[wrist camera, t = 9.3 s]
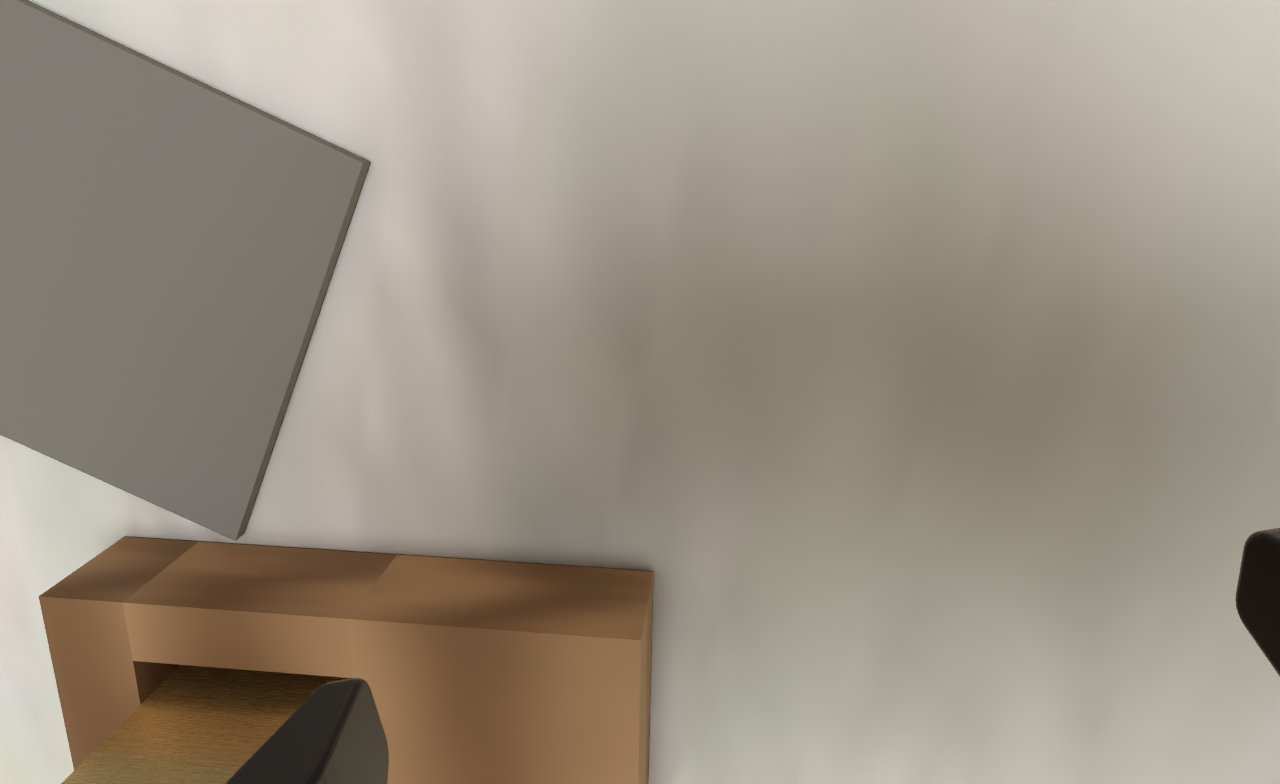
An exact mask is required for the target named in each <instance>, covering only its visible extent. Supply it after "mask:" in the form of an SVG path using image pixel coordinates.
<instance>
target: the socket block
mask: <svg viewBox="0 0 1280 784" xmlns="http://www.w3.org/2000/svg"><path fill="white" fill-rule="evenodd" d="M653 574H654V571H640V570H625V569H610V568H595V567H579V566H564V565H549V564H534V563H518V562H503V561H488V560H473V559H457V558H442V557H427V556H412V555H396V554H381V553H366V552H351V551H335V550H320V549H305V548H290V547H275V546H259V545H244V544H229V543H214V542H198V541H183V540H168V539H153V538H137V537H123V538H122V539H120V540H119V541H117V542H116V543H115V544H113V545H112V546H110V547H109V548H107V549H106V550H105V551H103V552H102V553H100V554H99V555H97V556H96V557H95V558H93V559H92V560H90V561H89V562H87V563H86V564H85V565H83V566H82V567H80V568H79V569H77V570H76V571H75V572H73V573H72V574H70V575H69V576H67V577H66V578H65V579H63V580H62V581H60V582H59V583H57V584H56V585H55V586H53V587H52V588H50V589H49V590H47V591H46V592H45V593H43V594H42V595H40V596H39V600H40V605H41V610H42V615H43V619H44V624H45V629H46V634H47V639H48V644H49V649H50V654H51V659H52V663H53V668H54V673H55V678H56V683H57V688H58V693H59V698H60V703H61V707H62V712H63V717H64V722H65V727H66V732H67V737H68V742H69V747H70V752H71V756H72V761H73V766H74V771H75V770H76V769H77V768H78V767H79V766H80V765H81V764H82V763H83V762H84V761H85V760H86V759H87V758H88V757H89V756H90V755H91V754H92V753H93V752H94V751H95V750H96V749H97V748H98V747H99V746H100V745H101V744H102V743H103V742H104V741H105V740H106V739H107V738H108V737H109V736H110V735H111V734H112V733H113V732H114V731H115V730H116V729H117V728H118V727H119V726H120V725H121V724H122V723H123V722H124V721H125V720H126V719H127V718H128V717H129V716H130V715H131V714H132V713H133V712H134V711H135V710H136V709H137V708H138V707H139V706H140V705H141V704H142V703H143V702H144V701H145V700H146V699H147V698H148V697H149V696H150V695H151V694H152V693H153V692H154V691H155V690H156V689H157V688H158V687H159V686H160V685H161V684H162V683H163V682H164V681H165V680H166V679H167V678H168V677H169V676H170V675H171V674H172V673H173V672H174V671H175V670H176V669H177V668H178V667H179V666H180V665H191V666H204V667H217V668H229V669H242V670H255V671H267V672H280V673H293V674H305V675H318V676H331V677H343V678H361V679H363V680H365V681H366V682H367V684H368V685H369V687H370V689H371V692H372V695H373V698H374V701H375V704H376V707H377V710H378V714H379V717H380V720H381V723H382V726H383V729H384V732H385V735H386V739H387V743H388V751H389V768H388V781H387V784H648V776H649V736H650V695H651V655H652V614H653Z"/></svg>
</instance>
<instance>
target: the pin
mask: <svg viewBox="0 0 1280 784" xmlns="http://www.w3.org/2000/svg"><path fill="white" fill-rule="evenodd" d="M346 679H352V678H343V677H331V676H318V675H305V674H293V673H280V672H267V671H255V670H242V669H229V668H217V667H204V666H191V665H180V666H179V667H178V668H177V669H176V670H175V671H174V672H173V673H172V674H171V675H170V676H169V677H168V678H167V679H166V680H165V681H164V682H163V683H162V684H161V685H160V686H159V687H158V688H157V689H156V690H155V691H154V692H153V693H152V694H151V695H150V696H149V697H148V698H147V699H146V700H145V701H144V702H143V703H142V704H141V705H140V706H139V707H138V708H137V709H136V710H135V711H134V712H133V713H132V714H131V715H130V716H129V717H128V718H127V719H126V720H125V721H124V722H123V723H122V724H121V725H120V726H119V727H118V728H117V729H116V730H115V731H114V732H113V733H112V734H111V735H110V736H109V737H108V738H107V739H106V740H105V741H104V742H103V743H102V744H101V745H100V746H99V747H98V748H97V749H96V750H95V751H94V752H93V753H92V754H91V755H90V756H89V757H88V758H87V759H86V760H85V761H84V762H83V763H82V764H81V765H80V766H79V767H78V768H77V769H76V770H75V771H74V772H73V773H72V774H71V775H70V776H69V777H68V778H67V779H66V780H65V781H64V782H63V783H62V784H225V783H226V782H227V781H228V780H229V779H230V778H231V777H232V776H233V775H234V774H235V772H236V771H237V770H238V769H239V768H240V767H241V766H242V765H243V764H244V763H245V762H246V761H247V760H248V759H249V758H250V757H251V756H252V755H253V754H254V753H255V752H256V751H257V750H258V749H259V748H260V747H261V746H262V745H263V744H264V743H265V742H266V741H267V740H268V739H269V738H270V736H271V735H272V734H273V733H274V732H275V731H276V730H277V729H278V728H279V727H280V726H281V725H282V724H283V723H284V722H285V721H286V720H287V719H288V718H289V717H290V716H291V715H292V714H293V713H294V712H295V711H296V710H297V709H298V708H299V707H300V706H301V705H302V704H303V703H304V702H305V701H306V699H307V698H308V697H309V696H310V695H311V694H312V693H313V692H314V691H315V690H316V689H317V688H319V687H320V686H321V685H323V684H325V683H328V682H333V681H339V680H346Z"/></svg>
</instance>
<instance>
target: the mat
mask: <svg viewBox="0 0 1280 784" xmlns="http://www.w3.org/2000/svg"><path fill="white" fill-rule="evenodd" d="M369 164H370V162H369V161H367V160H365V159H363V158H361V157H359V156H356V155H354V154H352V153H350V152H348V151H346V150H344V149H342V148H339V147H337V146H335V145H333V144H331V143H329V142H327V141H325V140H322V139H320V138H318V137H316V136H314V135H312V134H310V133H308V132H305V131H303V130H301V129H299V128H297V127H295V126H293V125H291V124H288V123H286V122H284V121H282V120H280V119H278V118H276V117H274V116H271V115H269V114H267V113H265V112H263V111H261V110H259V109H257V108H254V107H252V106H250V105H248V104H246V103H244V102H242V101H240V100H237V99H235V98H233V97H231V96H229V95H227V94H225V93H223V92H220V91H218V90H216V89H214V88H212V87H210V86H208V85H206V84H203V83H201V82H199V81H197V80H195V79H193V78H191V77H189V76H186V75H184V74H182V73H180V72H178V71H176V70H174V69H171V68H169V67H167V66H165V65H163V64H161V63H159V62H157V61H154V60H152V59H150V58H148V57H146V56H144V55H142V54H140V53H137V52H135V51H133V50H131V49H129V48H127V47H125V46H123V45H120V44H118V43H116V42H114V41H112V40H110V39H108V38H106V37H103V36H101V35H99V34H97V33H95V32H93V31H91V30H89V29H86V28H84V27H82V26H80V25H78V24H76V23H74V22H72V21H69V20H67V19H65V18H63V17H61V16H59V15H57V14H55V13H52V12H50V11H48V10H46V9H44V8H42V7H40V6H38V5H35V4H33V3H31V2H29V1H27V0H0V435H2V436H4V437H7V438H9V439H11V440H13V441H16V442H18V443H20V444H22V445H24V446H27V447H29V448H31V449H33V450H35V451H38V452H40V453H42V454H44V455H46V456H49V457H51V458H53V459H55V460H58V461H60V462H62V463H64V464H66V465H69V466H71V467H73V468H75V469H77V470H80V471H82V472H84V473H86V474H89V475H91V476H93V477H95V478H97V479H100V480H102V481H104V482H106V483H108V484H111V485H113V486H115V487H117V488H120V489H122V490H124V491H126V492H128V493H131V494H133V495H135V496H137V497H139V498H142V499H144V500H146V501H148V502H151V503H153V504H155V505H157V506H159V507H162V508H164V509H166V510H168V511H170V512H173V513H175V514H177V515H179V516H181V517H184V518H186V519H188V520H190V521H193V522H195V523H197V524H199V525H201V526H204V527H206V528H208V529H210V530H212V531H215V532H217V533H219V534H221V535H224V536H226V537H228V538H230V539H232V540H235V541H236V540H237V539H238V538H239V537H240V536H242V535H243V534H244V531H245V529H246V526H247V523H248V520H249V517H250V514H251V511H252V508H253V505H254V502H255V499H256V496H257V493H258V490H259V487H260V484H261V482H262V479H263V476H264V473H265V470H266V467H267V464H268V461H269V458H270V455H271V452H272V449H273V446H274V443H275V440H276V437H277V435H278V432H279V429H280V426H281V423H282V420H283V417H284V414H285V411H286V408H287V405H288V402H289V399H290V396H291V393H292V391H293V388H294V385H295V382H296V379H297V376H298V373H299V370H300V367H301V364H302V361H303V358H304V355H305V352H306V349H307V346H308V344H309V341H310V338H311V335H312V332H313V329H314V326H315V323H316V320H317V317H318V314H319V311H320V308H321V305H322V302H323V299H324V297H325V294H326V291H327V288H328V285H329V282H330V279H331V276H332V273H333V270H334V267H335V264H336V261H337V258H338V255H339V252H340V250H341V247H342V244H343V241H344V238H345V235H346V232H347V229H348V226H349V223H350V220H351V217H352V214H353V211H354V208H355V205H356V203H357V200H358V197H359V194H360V191H361V188H362V185H363V182H364V179H365V176H366V173H367V170H368V167H369Z"/></svg>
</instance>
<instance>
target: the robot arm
mask: <svg viewBox="0 0 1280 784" xmlns="http://www.w3.org/2000/svg"><path fill="white" fill-rule="evenodd" d="M1236 607H1237V610H1238V614H1239V616H1240V618H1241V620H1242V622H1243V624H1244V626H1245V627H1246V628H1247V630H1248V631H1249V633H1250V634H1251V636H1252V637H1253V638H1254V640H1255V641H1256V643H1257V644H1258V646H1259V647H1260V649H1261V650H1262V651H1263V653H1264V654H1265V656H1266V657H1267V659H1268V660H1269V661H1270V663H1271V664H1272V666H1273V667H1274V669H1275V670H1276V672H1277V673H1278V674H1279V676H1280V528H1276V529H1270V530H1263V531H1258V532H1255V533H1253V534H1252V535H1250V536H1249V538H1248V539H1247V540H1246V542H1245V545H1244V550H1243V556H1242V562H1241V568H1240V574H1239V580H1238V586H1237V592H1236ZM388 768H389V751H388V743H387V739H386V735H385V732H384V729H383V726H382V723H381V720H380V717H379V714H378V710H377V707H376V704H375V701H374V698H373V695H372V692H371V689H370V687H369V685H368V684H367V682H366V681H365V680H363V679H361V678H352V679H346V680H339V681H333V682H328V683H325V684H323V685H321V686H320V687H319V688H317V689H316V690H315V691H314V692H313V693H312V694H311V695H310V696H309V697H308V698H307V699H306V701H305V702H304V703H303V704H302V705H301V706H300V707H299V708H298V709H297V710H296V711H295V712H294V713H293V714H292V715H291V716H290V717H289V718H288V719H287V720H286V721H285V722H284V723H283V724H282V725H281V726H280V727H279V728H278V729H277V730H276V731H275V732H274V733H273V734H272V735H271V736H270V738H269V739H268V740H267V741H266V742H265V743H264V744H263V745H262V746H261V747H260V748H259V749H258V750H257V751H256V752H255V753H254V754H253V755H252V756H251V757H250V758H249V759H248V760H247V761H246V762H245V763H244V764H243V765H242V766H241V767H240V768H239V769H238V770H237V771H236V772H235V774H234V775H233V776H232V777H231V778H230V779H229V780H228V781H227V782H226V783H225V784H387V781H388Z"/></svg>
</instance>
